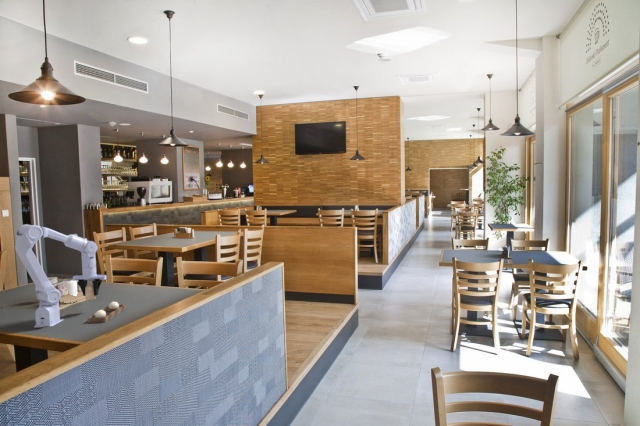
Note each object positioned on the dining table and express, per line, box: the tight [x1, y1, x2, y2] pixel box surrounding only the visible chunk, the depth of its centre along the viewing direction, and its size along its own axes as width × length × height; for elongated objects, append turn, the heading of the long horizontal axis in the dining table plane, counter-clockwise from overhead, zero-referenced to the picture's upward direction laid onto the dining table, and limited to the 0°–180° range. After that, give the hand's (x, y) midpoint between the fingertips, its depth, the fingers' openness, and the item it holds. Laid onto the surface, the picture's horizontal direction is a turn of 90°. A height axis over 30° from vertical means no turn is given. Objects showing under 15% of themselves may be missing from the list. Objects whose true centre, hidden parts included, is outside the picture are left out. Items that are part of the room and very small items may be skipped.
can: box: [62, 277, 78, 296], centre depth 227 cm, size 6×6×12 cm
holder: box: [87, 303, 127, 324], centre depth 200 cm, size 21×8×3 cm, turn 2°
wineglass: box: [47, 276, 59, 286], centre depth 230 cm, size 7×7×12 cm
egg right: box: [108, 301, 120, 309], centre depth 207 cm, size 4×4×4 cm
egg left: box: [94, 309, 106, 318], centre depth 193 cm, size 4×4×4 cm
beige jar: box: [84, 283, 97, 301], centre depth 205 cm, size 4×4×7 cm
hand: (90, 295), depth 205 cm, fingers closed on beige jar, 4 cm apart
